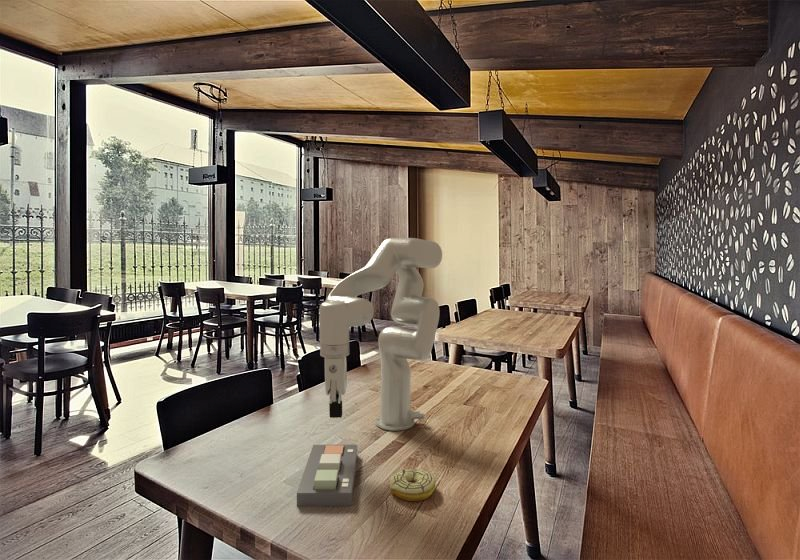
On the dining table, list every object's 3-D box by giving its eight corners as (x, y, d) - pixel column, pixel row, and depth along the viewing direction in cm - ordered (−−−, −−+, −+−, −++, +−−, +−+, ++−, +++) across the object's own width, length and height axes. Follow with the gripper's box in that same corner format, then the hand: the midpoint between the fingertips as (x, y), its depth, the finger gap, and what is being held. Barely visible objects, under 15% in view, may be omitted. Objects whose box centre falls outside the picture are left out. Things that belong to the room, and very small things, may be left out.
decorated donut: (398, 477, 113) (398, 462, 113) (439, 484, 110) (440, 470, 110) (383, 498, 103) (383, 482, 103) (428, 508, 100) (429, 491, 100)
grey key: (340, 465, 114) (341, 453, 114) (339, 475, 109) (339, 463, 109) (321, 465, 114) (321, 453, 114) (319, 475, 109) (319, 463, 109)
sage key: (337, 481, 106) (337, 469, 106) (335, 493, 101) (335, 480, 101) (317, 482, 106) (317, 469, 106) (314, 493, 101) (314, 480, 101)
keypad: (357, 455, 124) (357, 443, 124) (351, 505, 100) (351, 491, 100) (313, 455, 123) (313, 443, 123) (296, 506, 100) (296, 492, 99)
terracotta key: (343, 456, 122) (343, 445, 122) (342, 464, 117) (342, 453, 117) (325, 456, 122) (325, 445, 122) (323, 464, 117) (323, 453, 117)
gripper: (347, 356, 110) (348, 428, 112) (351, 341, 125) (352, 405, 127) (316, 357, 110) (317, 429, 112) (323, 341, 125) (325, 405, 127)
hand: (336, 416), depth 119 cm, fingers closed
